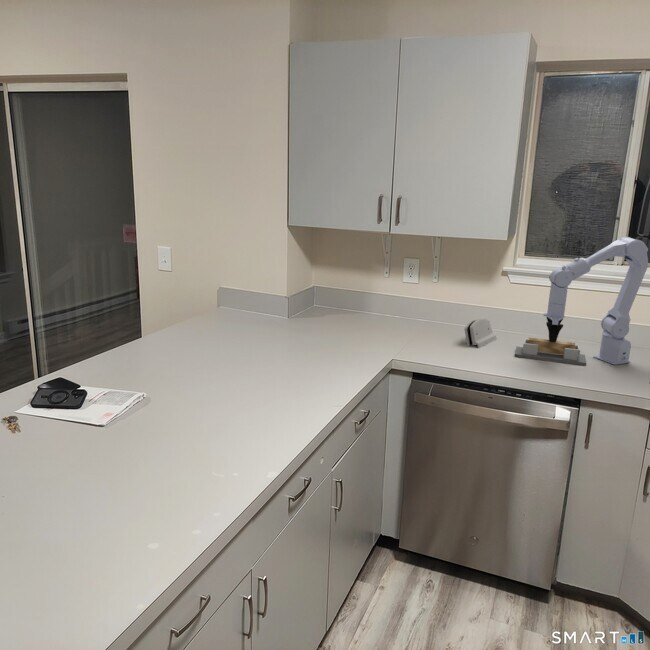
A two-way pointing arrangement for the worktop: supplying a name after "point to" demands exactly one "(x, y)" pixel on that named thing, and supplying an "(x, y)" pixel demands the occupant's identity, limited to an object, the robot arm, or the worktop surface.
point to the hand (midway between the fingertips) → (552, 339)
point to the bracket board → (551, 354)
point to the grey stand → (479, 333)
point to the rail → (551, 345)
